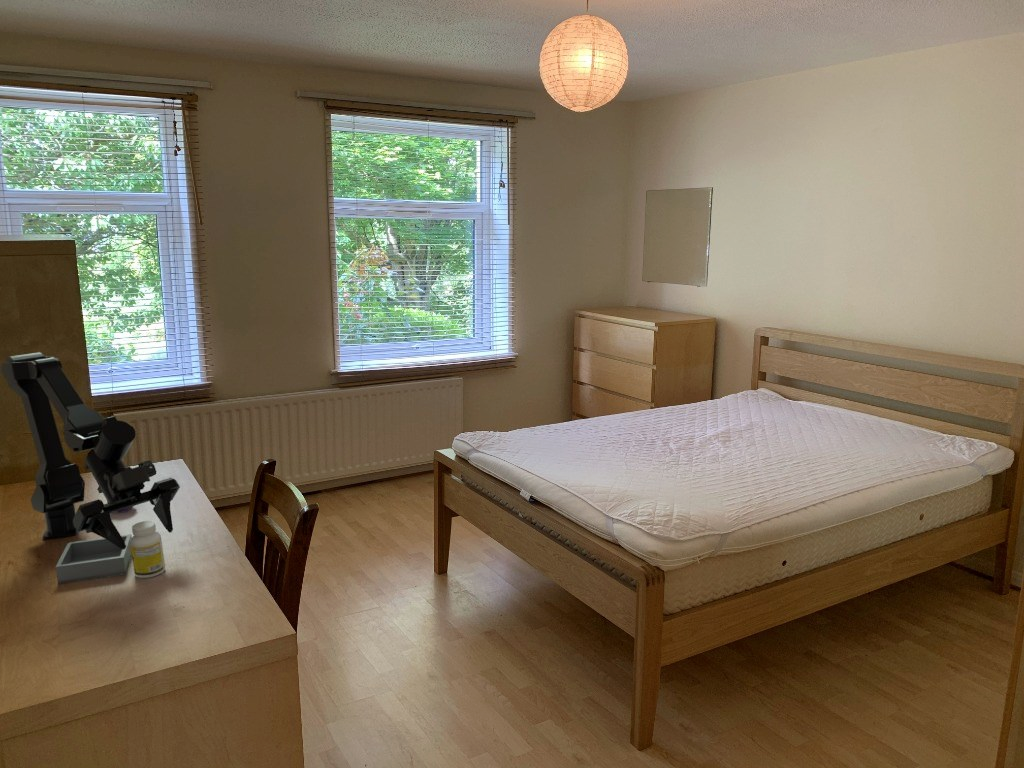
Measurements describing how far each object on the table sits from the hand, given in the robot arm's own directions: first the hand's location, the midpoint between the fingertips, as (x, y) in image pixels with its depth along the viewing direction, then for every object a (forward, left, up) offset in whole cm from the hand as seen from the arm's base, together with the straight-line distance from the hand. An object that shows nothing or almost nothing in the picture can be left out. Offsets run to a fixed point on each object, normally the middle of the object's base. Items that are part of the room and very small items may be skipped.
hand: (148, 539), depth 143 cm
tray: (-7, -11, -7) cm, 15 cm away
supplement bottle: (-1, -1, -7) cm, 7 cm away
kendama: (-45, -11, -7) cm, 47 cm away
